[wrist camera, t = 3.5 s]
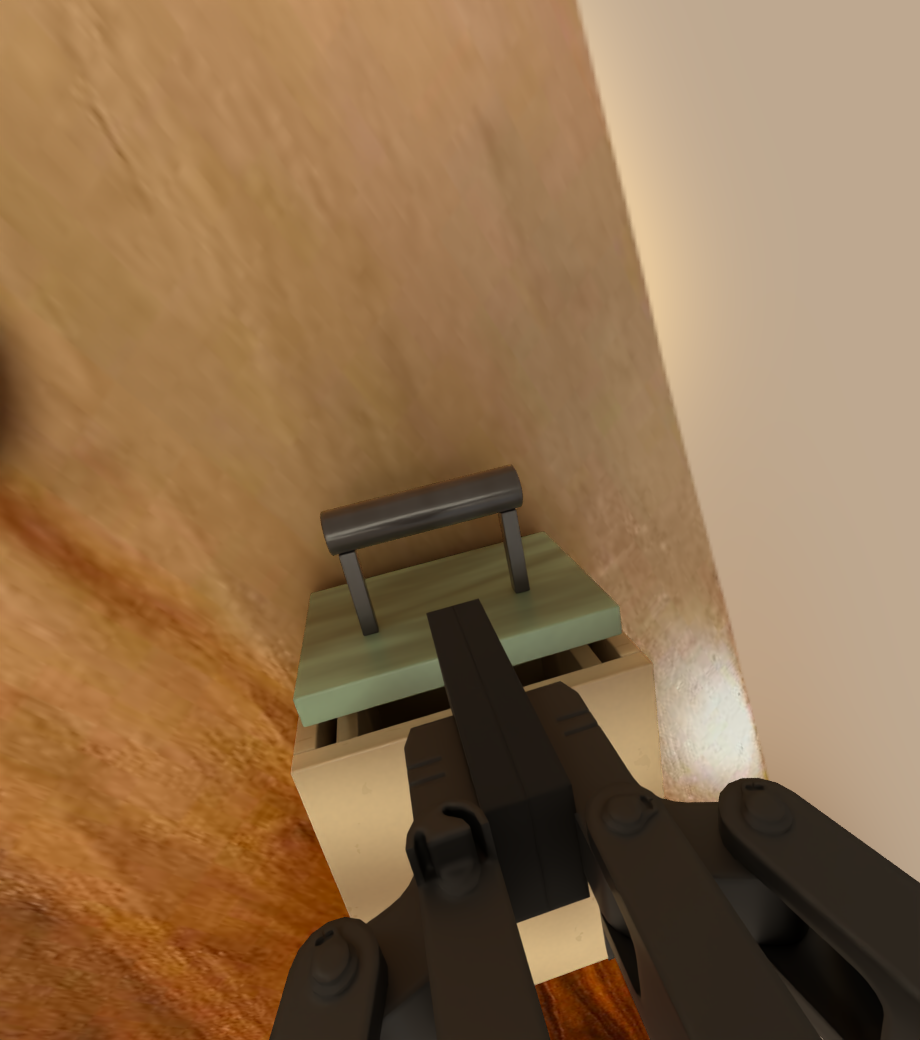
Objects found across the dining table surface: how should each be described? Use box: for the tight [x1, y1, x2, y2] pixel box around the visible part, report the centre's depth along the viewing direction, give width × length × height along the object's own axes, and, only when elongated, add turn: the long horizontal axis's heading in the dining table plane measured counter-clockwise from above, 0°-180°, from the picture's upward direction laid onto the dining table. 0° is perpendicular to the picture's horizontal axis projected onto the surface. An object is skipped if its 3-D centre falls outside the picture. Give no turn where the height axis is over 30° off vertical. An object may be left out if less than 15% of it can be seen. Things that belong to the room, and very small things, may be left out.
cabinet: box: [291, 631, 664, 985], centre depth 25 cm, size 15×13×10 cm
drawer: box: [293, 465, 622, 743], centre depth 23 cm, size 18×11×8 cm, turn 12°
